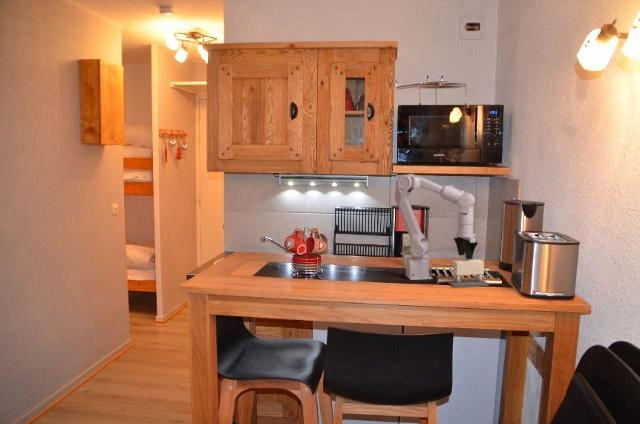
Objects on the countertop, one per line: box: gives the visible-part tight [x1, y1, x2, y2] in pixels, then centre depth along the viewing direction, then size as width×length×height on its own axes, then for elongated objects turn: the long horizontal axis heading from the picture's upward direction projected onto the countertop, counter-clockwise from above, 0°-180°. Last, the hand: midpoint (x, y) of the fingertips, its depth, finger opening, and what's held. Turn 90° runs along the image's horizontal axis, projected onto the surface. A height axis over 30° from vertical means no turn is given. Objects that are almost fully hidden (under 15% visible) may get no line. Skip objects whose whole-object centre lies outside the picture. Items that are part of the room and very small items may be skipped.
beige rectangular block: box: [452, 259, 485, 276], centre depth 196 cm, size 11×4×5 cm, turn 97°
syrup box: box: [401, 233, 412, 267], centre depth 232 cm, size 6×6×14 cm
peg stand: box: [447, 274, 490, 289], centre depth 196 cm, size 14×7×4 cm, turn 96°
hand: (465, 257), depth 199 cm, fingers open, 7 cm apart
